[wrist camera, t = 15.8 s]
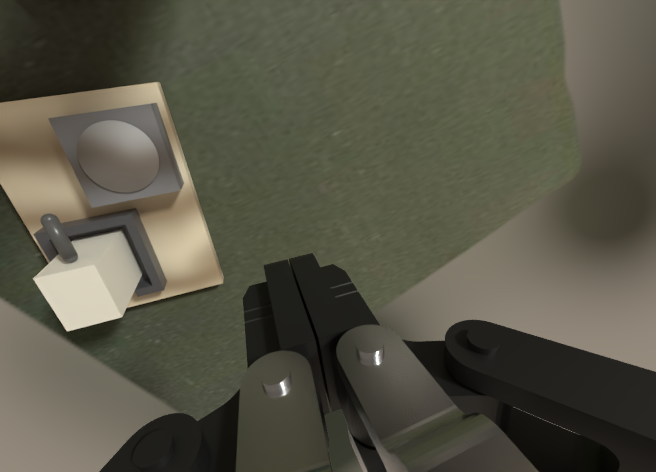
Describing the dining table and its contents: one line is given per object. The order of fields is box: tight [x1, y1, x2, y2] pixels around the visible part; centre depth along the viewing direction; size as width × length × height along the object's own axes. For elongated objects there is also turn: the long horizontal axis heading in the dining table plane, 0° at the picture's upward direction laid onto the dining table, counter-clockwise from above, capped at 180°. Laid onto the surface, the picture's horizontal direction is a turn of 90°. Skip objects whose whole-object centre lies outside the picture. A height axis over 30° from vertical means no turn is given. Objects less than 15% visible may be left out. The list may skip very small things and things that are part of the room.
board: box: [0, 82, 223, 308], centre depth 29 cm, size 20×14×4 cm
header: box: [33, 208, 167, 297], centre depth 30 cm, size 8×8×2 cm
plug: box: [33, 213, 142, 331], centre depth 27 cm, size 10×4×7 cm, turn 8°
